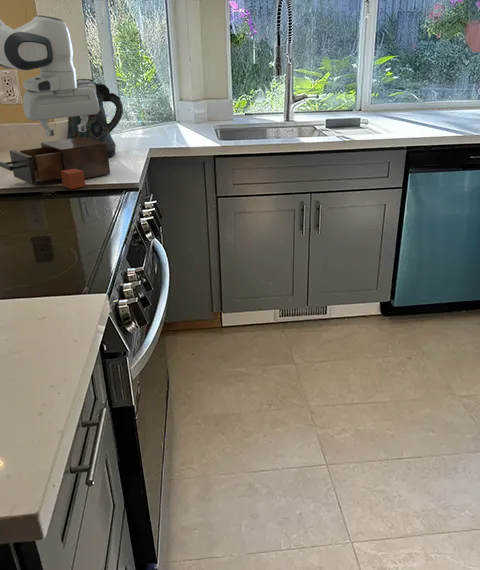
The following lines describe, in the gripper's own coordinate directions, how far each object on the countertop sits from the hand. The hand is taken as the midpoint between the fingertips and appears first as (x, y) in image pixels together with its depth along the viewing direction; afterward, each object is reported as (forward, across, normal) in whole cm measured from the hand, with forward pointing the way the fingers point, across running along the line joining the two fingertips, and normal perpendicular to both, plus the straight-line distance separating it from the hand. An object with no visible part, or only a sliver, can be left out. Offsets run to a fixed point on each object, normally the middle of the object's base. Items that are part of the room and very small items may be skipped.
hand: (66, 133), depth 165 cm
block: (+15, 0, 0) cm, 15 cm away
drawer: (+14, +5, -12) cm, 19 cm away
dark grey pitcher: (+15, -25, -31) cm, 43 cm away
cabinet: (+15, -8, -12) cm, 21 cm away
